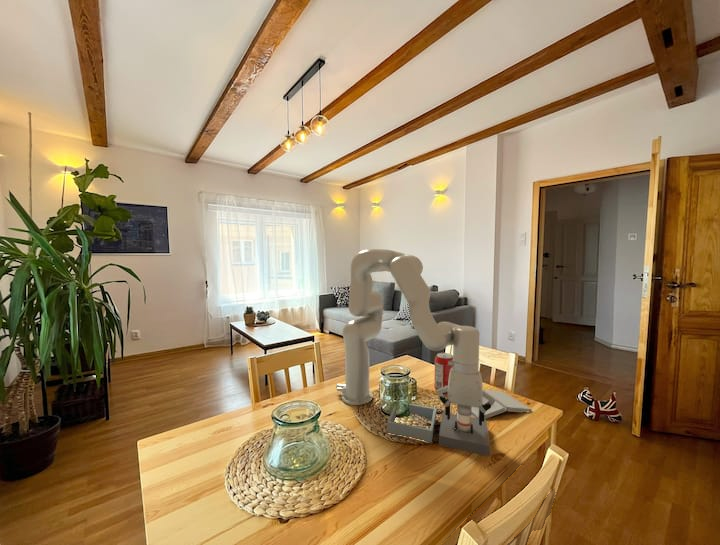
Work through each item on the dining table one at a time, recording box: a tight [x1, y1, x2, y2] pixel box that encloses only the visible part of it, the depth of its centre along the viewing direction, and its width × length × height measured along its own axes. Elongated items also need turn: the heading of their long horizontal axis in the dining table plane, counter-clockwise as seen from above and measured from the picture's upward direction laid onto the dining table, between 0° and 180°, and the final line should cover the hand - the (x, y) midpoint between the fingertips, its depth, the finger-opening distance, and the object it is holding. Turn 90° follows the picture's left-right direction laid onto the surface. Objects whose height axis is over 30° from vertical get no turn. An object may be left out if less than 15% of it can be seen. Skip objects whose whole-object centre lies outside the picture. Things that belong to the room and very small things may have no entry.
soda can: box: [433, 352, 453, 394], centre depth 125 cm, size 8×8×15 cm
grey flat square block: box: [438, 411, 491, 457], centre depth 93 cm, size 14×14×3 cm
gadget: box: [471, 388, 532, 420], centre depth 112 cm, size 23×15×4 cm, turn 105°
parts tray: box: [386, 403, 437, 444], centre depth 98 cm, size 14×14×4 cm
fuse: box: [456, 404, 472, 434], centre depth 93 cm, size 4×4×10 cm
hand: (464, 420), depth 93 cm, fingers open, 9 cm apart
